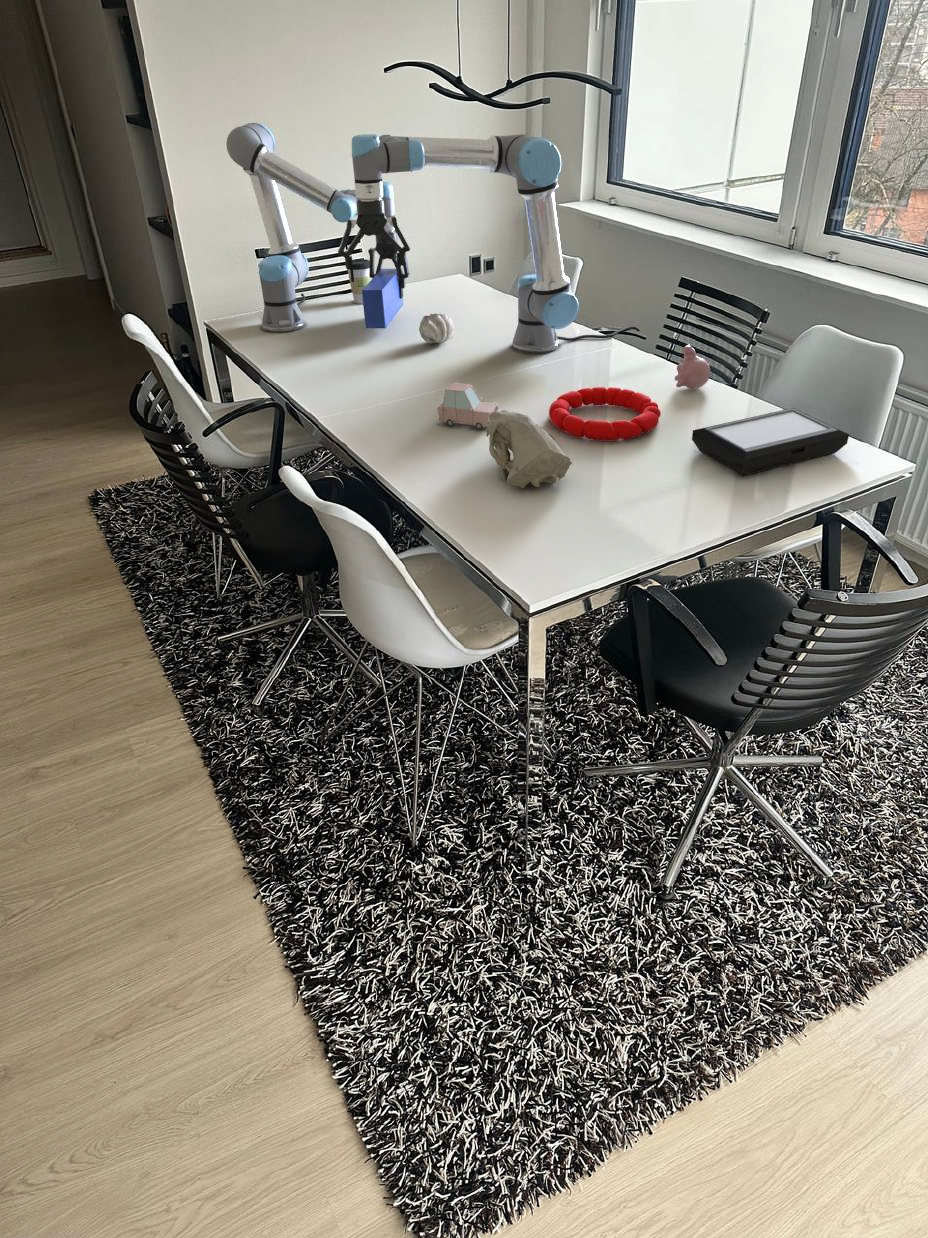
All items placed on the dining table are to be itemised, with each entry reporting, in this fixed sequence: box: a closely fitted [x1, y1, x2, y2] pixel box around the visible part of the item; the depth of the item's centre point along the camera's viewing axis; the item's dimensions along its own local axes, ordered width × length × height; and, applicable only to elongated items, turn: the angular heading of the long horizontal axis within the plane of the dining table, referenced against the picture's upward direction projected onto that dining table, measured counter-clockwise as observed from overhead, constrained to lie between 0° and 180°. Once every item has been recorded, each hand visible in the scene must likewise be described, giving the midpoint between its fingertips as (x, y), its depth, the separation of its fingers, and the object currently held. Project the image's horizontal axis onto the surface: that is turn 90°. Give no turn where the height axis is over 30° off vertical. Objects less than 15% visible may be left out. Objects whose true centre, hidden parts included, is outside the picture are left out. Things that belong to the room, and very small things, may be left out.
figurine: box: [674, 344, 711, 390], centre depth 259 cm, size 9×11×12 cm
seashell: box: [418, 312, 454, 344], centre depth 302 cm, size 10×15×10 cm
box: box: [362, 268, 404, 329], centre depth 317 cm, size 30×7×13 cm, turn 171°
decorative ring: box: [548, 386, 661, 442], centre depth 242 cm, size 7×30×30 cm
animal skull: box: [485, 409, 573, 489], centre depth 216 cm, size 17×25×20 cm
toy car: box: [437, 382, 499, 431], centre depth 243 cm, size 9×15×10 cm, turn 70°
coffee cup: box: [347, 258, 372, 305], centre depth 347 cm, size 10×10×15 cm
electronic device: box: [691, 407, 850, 477], centre depth 222 cm, size 32×6×20 cm
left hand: (391, 297), depth 328 cm, fingers closed on box, 7 cm apart
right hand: (376, 279), depth 256 cm, fingers open, 13 cm apart
